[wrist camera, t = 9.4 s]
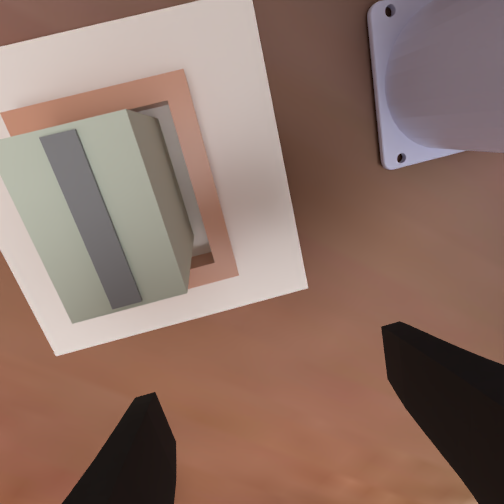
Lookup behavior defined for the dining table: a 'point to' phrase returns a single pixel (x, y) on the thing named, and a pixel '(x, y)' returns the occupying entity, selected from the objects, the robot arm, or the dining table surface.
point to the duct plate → (180, 151)
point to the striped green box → (102, 211)
